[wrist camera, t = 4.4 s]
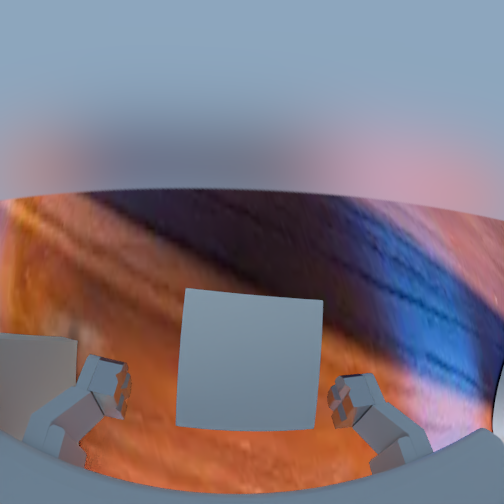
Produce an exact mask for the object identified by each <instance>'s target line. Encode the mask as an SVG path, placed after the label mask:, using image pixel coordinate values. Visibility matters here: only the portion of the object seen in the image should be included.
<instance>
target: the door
mask: <svg viewBox="0 0 504 504" xmlns="http://www.w3.org/2000/svg"><path fill="white" fill-rule="evenodd" d="M77 343H78V341H76V340H73V339H69V338H65V337H56V336H36V335H22V334H10V333H0V429H1V430H3V431H4V432H6V433H8V434H10V435H11V436H13V437H15V438H17V439H18V440H20V441H22V439H23V437H24V434H25V431H26V428H27V425H28V423H29V420H30V417H31V415H32V413H34V412H35V411H37V410H38V409H40V408H41V407H42V406H44V405H45V404H47V403H48V402H50V401H51V400H53V399H54V398H55V397H57V396H58V395H60V394H61V393H63V392H64V391H65V390H67V389H68V388H70V387H71V386H74V387H75V386H76V359H77ZM77 444H78V445H79V442H78V443H77Z"/></svg>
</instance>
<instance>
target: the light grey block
mask: <svg viewBox="0 0 504 504" xmlns="http://www.w3.org/2000/svg"><path fill="white" fill-rule="evenodd" d="M322 319H323V300H310V299H296V298H283V297H271V296H259V295H248V294H238V293H228V292H218V291H209V290H200V289H191V288H186V290H185V299H184V309H183V318H182V329H181V340H180V353H179V367H178V383H177V404H176V426H182V427H191V428H200V429H212V430H229V431H286V430H303V429H314V423H315V414H316V405H317V395H318V384H319V372H320V358H321V341H322Z"/></svg>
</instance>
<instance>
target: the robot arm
mask: <svg viewBox="0 0 504 504" xmlns="http://www.w3.org/2000/svg"><path fill="white" fill-rule="evenodd" d="M127 371H128V365H127V363H126V362H121V361H117V360H112V359H108V358H104V357H100V356H96V355H92V354H90V355H89V356H88V357H87V359H86V361H85V364H84V366H83V368H82V371H81V373H80V376H79V378H78V381H77V383H76V386H75V387H74V386H71V387H70V388H68V389H67V390H65V391H64V392H63V393H61V394H60V395H58V396H57V397H55V398H54V399H53V400H51V401H50V402H48V403H47V404H45V405H44V406H42V407H41V408H40V409H38V410H37V411H35V412H34V413H32V415H31V417H30V420H29V423H28V425H27V428H26V431H25V434H24V437H23V439H22V441H20V440H18V439H17V438H15V437H13V436H11V435H10V434H8V433H6V432H4V431H3V430H1V429H0V504H504V366H503V370H502V373H501V377H500V381H499V385H498V389H497V394H496V400H495V406H494V413H493V433H492V432H490V431H489V430H487V429H485V428H480V429H478V430H476V431H474V432H472V433H471V434H469V435H467V436H465V437H463V438H461V439H460V440H458V441H456V442H454V443H452V444H450V445H448V446H446V447H444V448H442V449H440V450H438V451H435V452H433V450H432V448H431V445H430V443H429V440H428V438H427V436H426V433H425V431H424V429H422V428H421V427H420V426H419V425H417V424H416V423H415V422H413V421H412V420H411V419H409V418H408V417H407V416H405V415H404V414H403V413H401V412H400V411H399V410H398V409H396V408H395V407H394V406H392V405H391V404H390V403H389V402H388V403H386V402H385V400H384V397H383V395H382V393H381V391H380V388H379V386H378V384H377V381H376V379H375V377H374V375H373V374H372V373H366V374H354V375H343V376H339V377H337V378H336V380H335V383H336V384H335V385H334V386H332V387H331V388H330V390H329V391H328V396H327V401H328V406H329V408H330V409H331V410H333V414H332V416H331V417H332V420H333V424H334V427H335V429H338V428H346V427H352V428H353V429H354V430H355V431H356V432H357V433H358V434H359V435H360V436H361V437H362V438H363V439H364V440H365V441H366V442H367V443H368V444H369V446H370V447H371V448H372V449H373V450H374V451H375V452H376V453H377V454H378V455H377V456H376V457H374V458H373V459H371V461H370V462H369V464H370V468H371V471H372V475H370V476H367V477H363V478H359V479H355V480H351V481H347V482H343V483H338V484H333V485H328V486H322V487H317V488H310V489H303V490H295V491H286V492H275V493H259V494H217V493H200V492H189V491H180V490H172V489H165V488H159V487H153V486H148V485H143V484H138V483H133V482H129V481H125V480H121V479H117V478H113V477H110V476H106V475H103V474H99V473H96V472H93V471H90V470H87V469H84V466H85V461H86V456H87V455H86V453H85V451H84V450H83V449H82V448H81V447H80V446H79V445H78V444H77V443H78V442H79V441H80V440H81V439H82V438H83V437H84V436H85V435H86V434H87V433H88V432H89V431H90V430H91V429H92V428H93V427H94V426H95V425H96V424H97V423H98V422H99V421H100V420H101V419H102V418H103V417H104V416H108V417H113V418H117V419H122V420H124V418H125V414H126V410H127V404H126V401H125V400H126V399H127V398H129V397H130V393H131V385H132V382H131V376H130V374H129V373H128V372H127Z"/></svg>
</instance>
